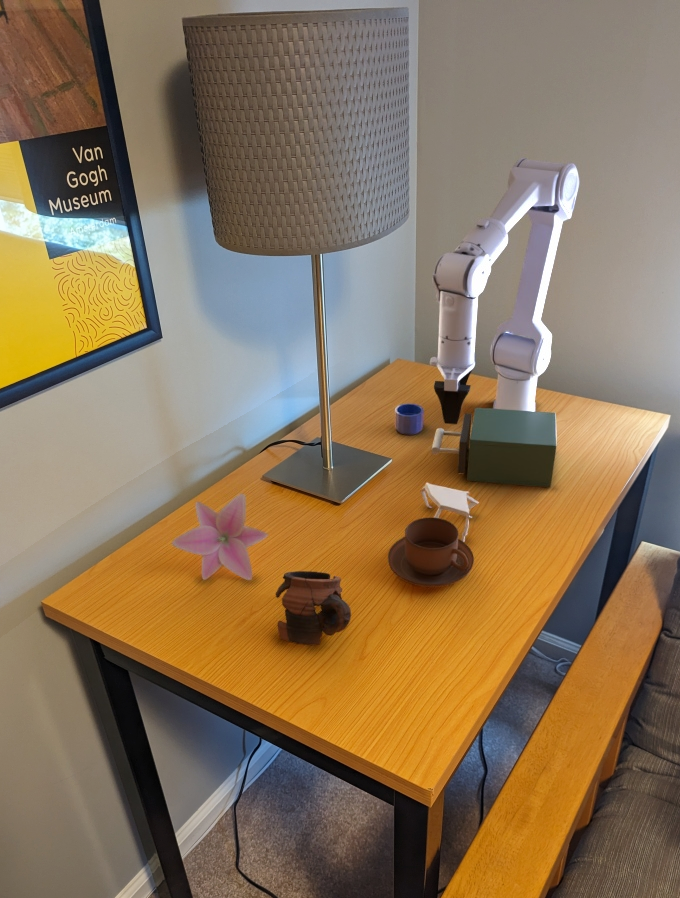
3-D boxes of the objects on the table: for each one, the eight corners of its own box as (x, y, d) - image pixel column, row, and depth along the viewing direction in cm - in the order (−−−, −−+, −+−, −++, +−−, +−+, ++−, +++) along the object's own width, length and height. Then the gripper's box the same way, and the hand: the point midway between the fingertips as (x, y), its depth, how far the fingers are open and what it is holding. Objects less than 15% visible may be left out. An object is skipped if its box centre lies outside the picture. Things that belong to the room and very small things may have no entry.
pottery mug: (257, 634, 95) (262, 571, 95) (309, 626, 103) (314, 567, 102) (324, 656, 88) (330, 588, 87) (376, 645, 95) (381, 582, 94)
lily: (169, 571, 107) (160, 543, 99) (209, 506, 112) (204, 475, 104) (243, 606, 106) (240, 581, 98) (280, 539, 111) (281, 510, 103)
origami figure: (494, 522, 114) (496, 495, 111) (462, 547, 109) (464, 520, 106) (431, 495, 120) (432, 469, 117) (399, 518, 115) (399, 491, 112)
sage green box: (467, 480, 124) (469, 439, 119) (472, 446, 133) (475, 407, 128) (550, 487, 121) (556, 445, 117) (550, 452, 131) (555, 412, 126)
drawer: (429, 471, 125) (430, 439, 121) (436, 441, 133) (437, 411, 129) (533, 479, 122) (537, 447, 118) (534, 448, 130) (538, 417, 126)
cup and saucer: (482, 552, 108) (485, 517, 104) (459, 604, 99) (461, 567, 95) (404, 535, 111) (405, 501, 108) (375, 583, 102) (374, 548, 99)
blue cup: (397, 421, 141) (397, 402, 139) (424, 423, 140) (425, 404, 138) (392, 434, 137) (392, 415, 135) (421, 436, 136) (421, 417, 134)
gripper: (436, 316, 122) (434, 392, 130) (425, 350, 110) (423, 431, 118) (480, 318, 121) (474, 395, 128) (473, 352, 109) (467, 434, 117)
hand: (453, 412), depth 123 cm, fingers open, 7 cm apart
